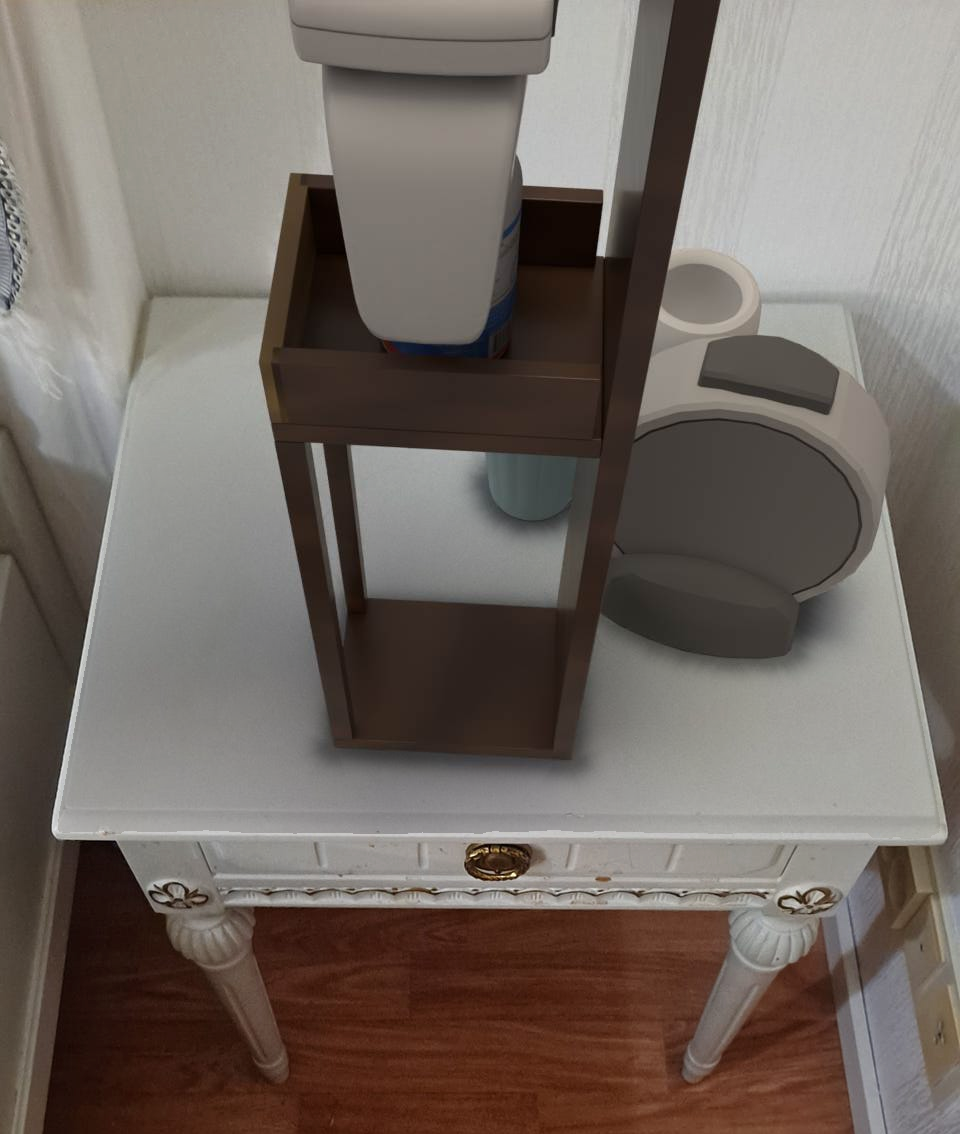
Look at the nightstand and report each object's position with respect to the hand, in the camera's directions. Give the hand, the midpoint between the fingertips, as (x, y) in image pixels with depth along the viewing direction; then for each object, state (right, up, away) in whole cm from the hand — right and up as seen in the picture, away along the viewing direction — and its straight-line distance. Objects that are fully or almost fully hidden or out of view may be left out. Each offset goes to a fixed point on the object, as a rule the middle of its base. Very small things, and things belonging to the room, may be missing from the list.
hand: (444, 256), depth 43 cm
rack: (0, -12, +27) cm, 30 cm away
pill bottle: (0, -2, +4) cm, 4 cm away
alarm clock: (+15, -5, +31) cm, 35 cm away
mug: (+15, +8, +36) cm, 40 cm away
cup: (+5, +2, +33) cm, 34 cm away
